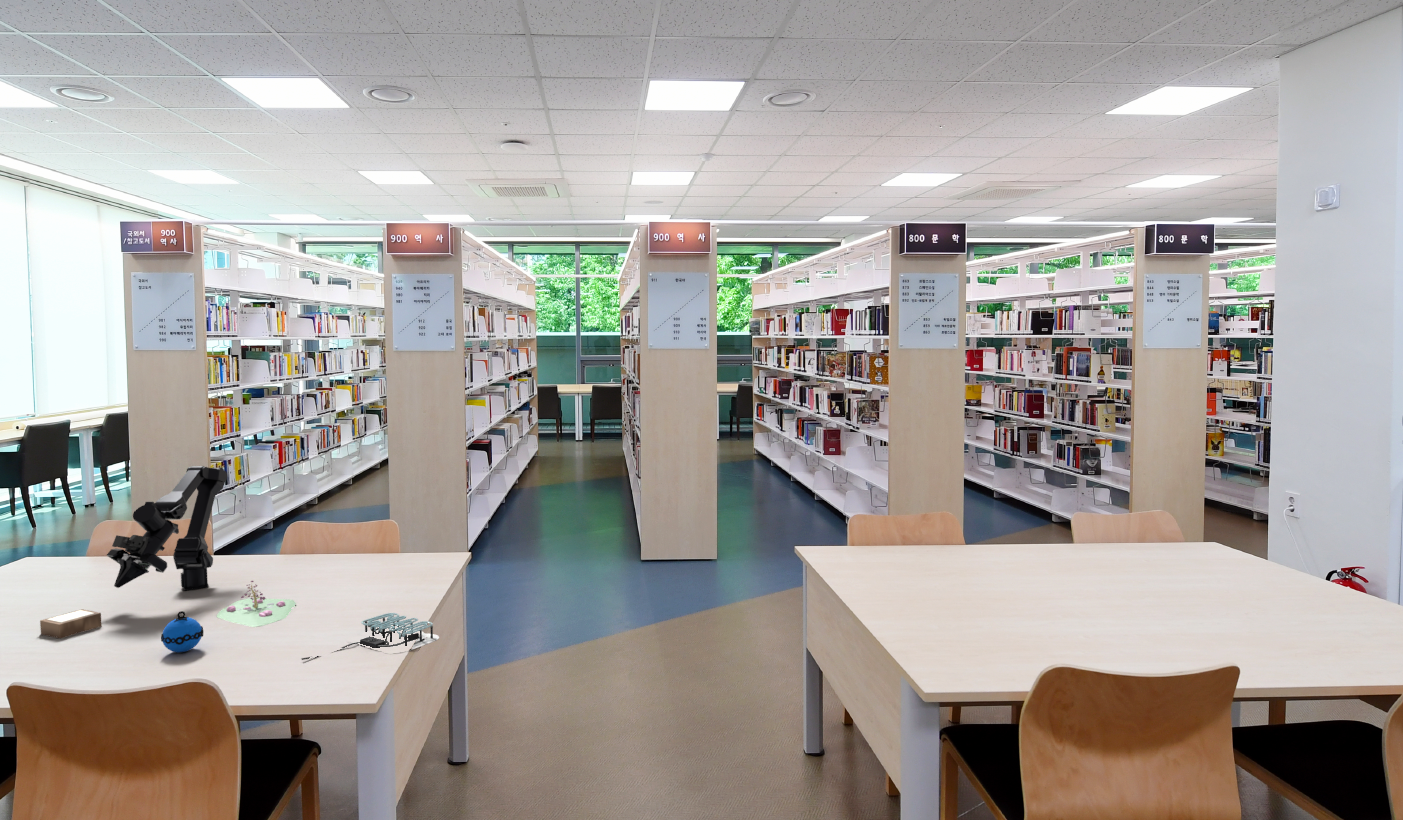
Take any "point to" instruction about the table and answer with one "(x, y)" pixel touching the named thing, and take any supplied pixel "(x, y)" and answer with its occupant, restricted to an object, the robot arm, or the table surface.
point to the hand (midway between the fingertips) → (116, 587)
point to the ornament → (182, 634)
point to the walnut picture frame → (70, 623)
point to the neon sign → (386, 624)
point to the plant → (256, 610)
